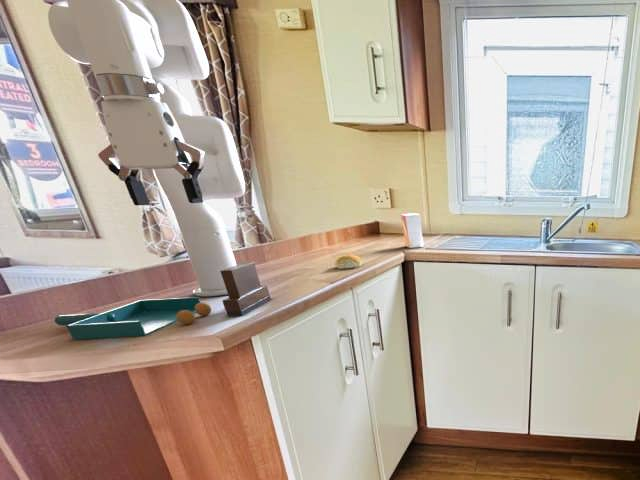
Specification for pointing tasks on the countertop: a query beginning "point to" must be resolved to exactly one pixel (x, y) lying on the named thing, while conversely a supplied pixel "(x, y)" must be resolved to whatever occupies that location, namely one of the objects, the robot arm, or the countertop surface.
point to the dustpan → (117, 323)
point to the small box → (412, 230)
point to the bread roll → (348, 261)
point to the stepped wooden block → (243, 289)
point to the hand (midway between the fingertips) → (169, 203)
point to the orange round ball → (203, 309)
